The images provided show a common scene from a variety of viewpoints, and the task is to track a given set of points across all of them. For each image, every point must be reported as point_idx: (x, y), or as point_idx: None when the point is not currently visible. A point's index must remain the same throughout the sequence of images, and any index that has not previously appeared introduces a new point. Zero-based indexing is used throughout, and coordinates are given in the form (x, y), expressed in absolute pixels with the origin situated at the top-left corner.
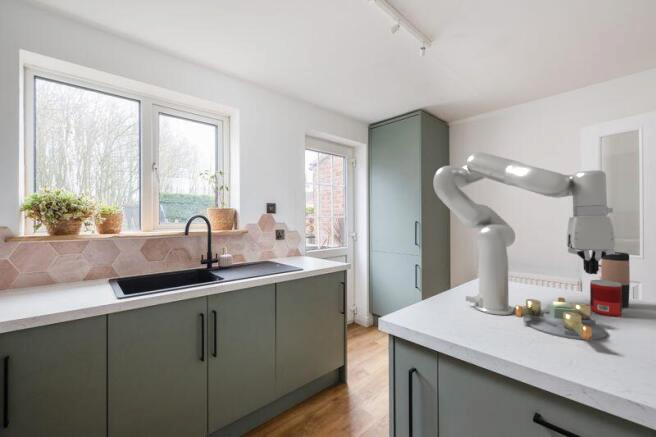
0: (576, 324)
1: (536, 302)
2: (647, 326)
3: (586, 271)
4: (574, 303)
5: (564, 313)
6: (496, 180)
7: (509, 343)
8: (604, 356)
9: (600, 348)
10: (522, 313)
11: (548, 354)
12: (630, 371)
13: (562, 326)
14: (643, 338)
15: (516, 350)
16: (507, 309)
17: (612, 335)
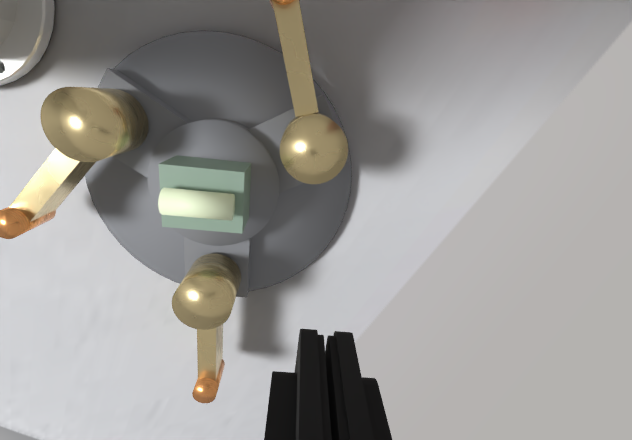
0: (197, 345)
1: (92, 156)
2: (552, 102)
3: (297, 353)
4: (288, 133)
5: (175, 302)
6: None
7: (26, 354)
8: (243, 369)
9: (258, 329)
10: (43, 221)
11: (115, 388)
12: (257, 417)
13: (192, 258)
14: (432, 232)
15: (42, 386)
16: (10, 30)
17: (353, 228)
